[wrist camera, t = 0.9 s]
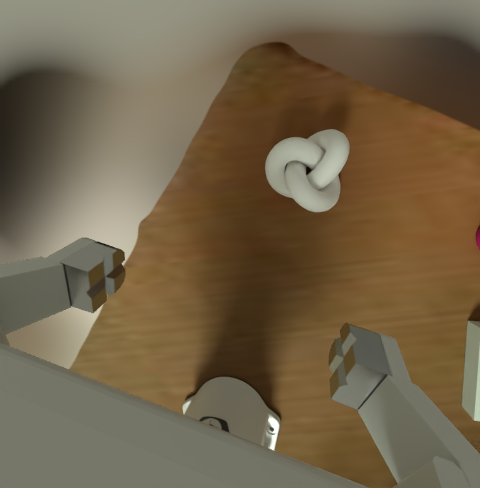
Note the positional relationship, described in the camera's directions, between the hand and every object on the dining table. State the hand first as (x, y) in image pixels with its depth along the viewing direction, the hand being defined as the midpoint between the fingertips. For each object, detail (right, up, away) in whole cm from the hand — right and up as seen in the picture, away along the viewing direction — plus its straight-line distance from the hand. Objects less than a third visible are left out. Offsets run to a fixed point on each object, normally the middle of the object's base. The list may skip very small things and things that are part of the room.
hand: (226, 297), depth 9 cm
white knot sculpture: (+12, +14, +33) cm, 38 cm away
